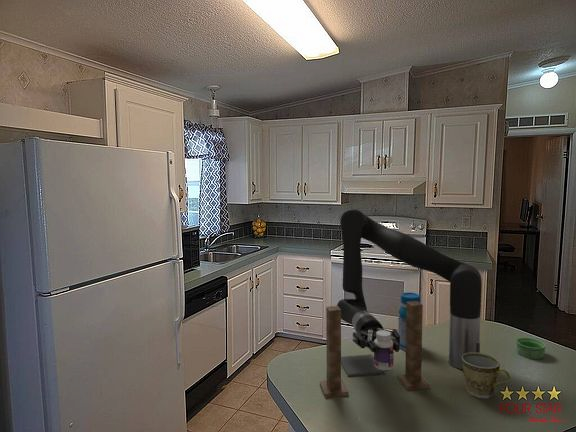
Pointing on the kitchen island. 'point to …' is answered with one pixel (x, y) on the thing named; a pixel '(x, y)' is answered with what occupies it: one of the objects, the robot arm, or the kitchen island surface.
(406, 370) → the walnut post
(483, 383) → the ceramic cup
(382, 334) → the pill bottle
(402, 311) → the beverage bottle
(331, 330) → the walnut post
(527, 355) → the ramekin
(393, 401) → the kitchen island surface
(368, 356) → the charcoal mat
